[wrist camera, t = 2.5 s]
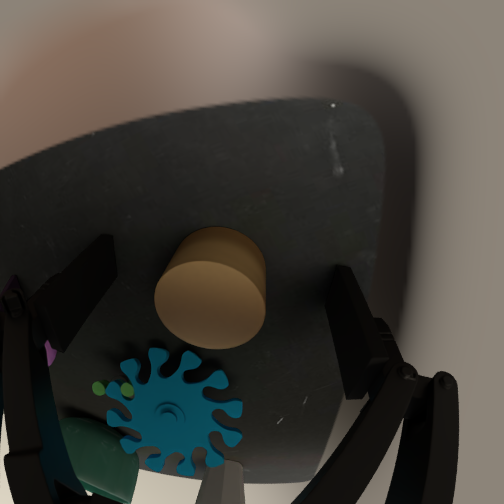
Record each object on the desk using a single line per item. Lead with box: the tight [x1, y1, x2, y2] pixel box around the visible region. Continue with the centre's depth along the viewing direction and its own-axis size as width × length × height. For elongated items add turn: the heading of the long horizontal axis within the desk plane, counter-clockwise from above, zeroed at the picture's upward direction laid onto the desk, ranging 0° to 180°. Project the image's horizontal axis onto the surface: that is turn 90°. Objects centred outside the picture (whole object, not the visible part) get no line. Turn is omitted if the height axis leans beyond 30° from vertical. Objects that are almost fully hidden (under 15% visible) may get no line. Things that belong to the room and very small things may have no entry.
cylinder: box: [154, 227, 266, 349], centre depth 14 cm, size 5×5×4 cm
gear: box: [92, 348, 242, 476], centre depth 18 cm, size 11×6×10 cm
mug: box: [59, 417, 139, 504], centre depth 24 cm, size 17×13×10 cm
